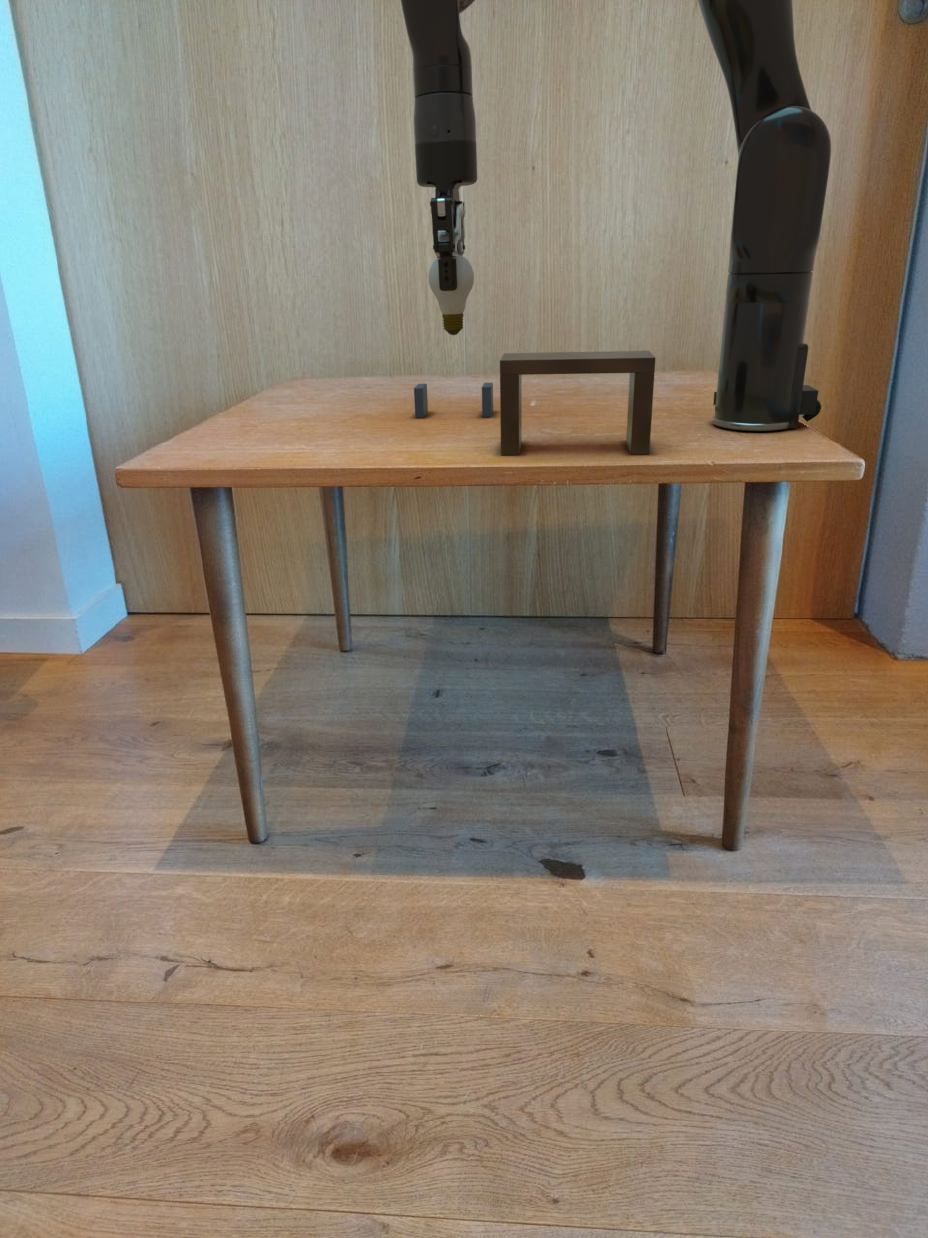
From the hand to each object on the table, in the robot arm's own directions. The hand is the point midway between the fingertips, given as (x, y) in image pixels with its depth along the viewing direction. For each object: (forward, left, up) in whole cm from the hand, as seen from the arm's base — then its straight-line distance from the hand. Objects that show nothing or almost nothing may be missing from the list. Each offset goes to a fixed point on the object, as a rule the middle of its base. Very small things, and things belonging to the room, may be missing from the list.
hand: (451, 289), depth 106 cm
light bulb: (0, 0, -6) cm, 6 cm away
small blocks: (0, 0, -16) cm, 16 cm away
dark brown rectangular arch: (-16, +21, -16) cm, 31 cm away
